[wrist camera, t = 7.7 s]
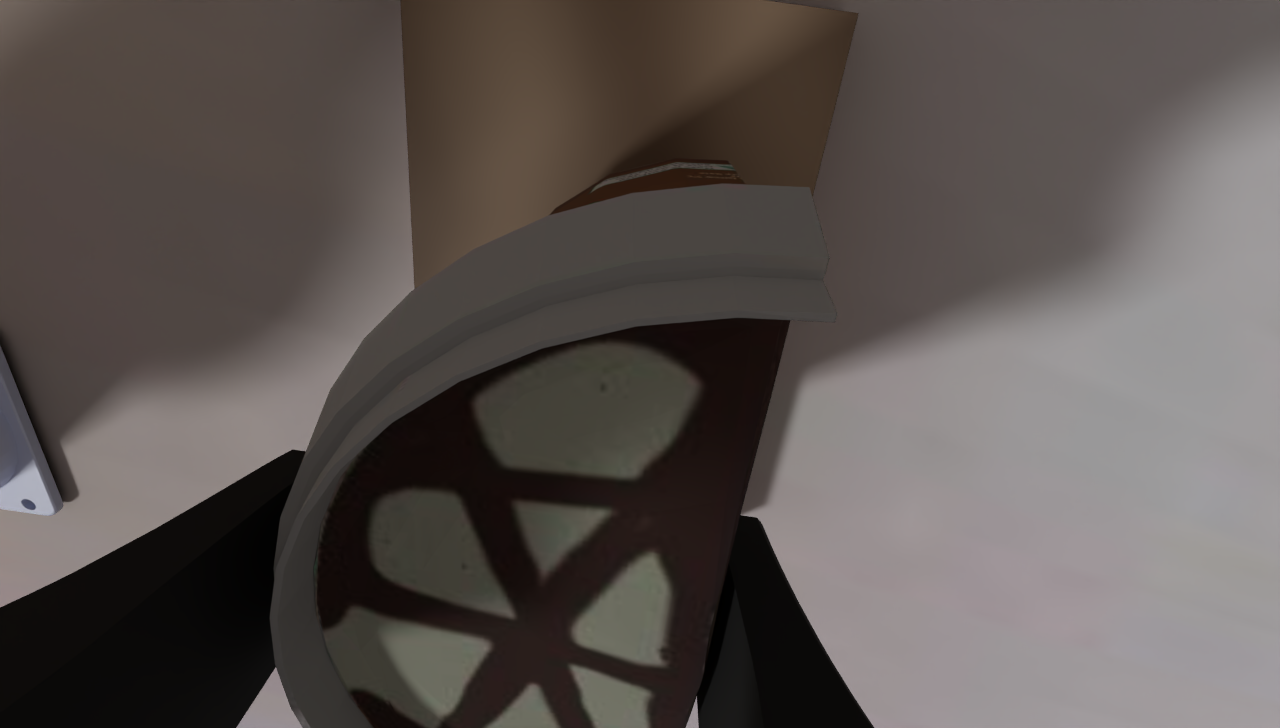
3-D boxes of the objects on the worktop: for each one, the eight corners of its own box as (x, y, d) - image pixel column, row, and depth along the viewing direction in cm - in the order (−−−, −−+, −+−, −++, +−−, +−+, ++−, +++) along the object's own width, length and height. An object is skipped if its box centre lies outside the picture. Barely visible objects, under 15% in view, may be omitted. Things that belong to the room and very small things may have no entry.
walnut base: (441, 481, 23) (425, 510, 22) (423, -47, 16) (397, -52, 14) (721, 523, 23) (722, 554, 22) (845, 12, 15) (858, 13, 14)
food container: (451, 48, 14) (77, 151, 5) (741, 88, 14) (856, 253, 5) (459, 496, 20) (295, 889, 11) (661, 521, 20) (653, 928, 11)
